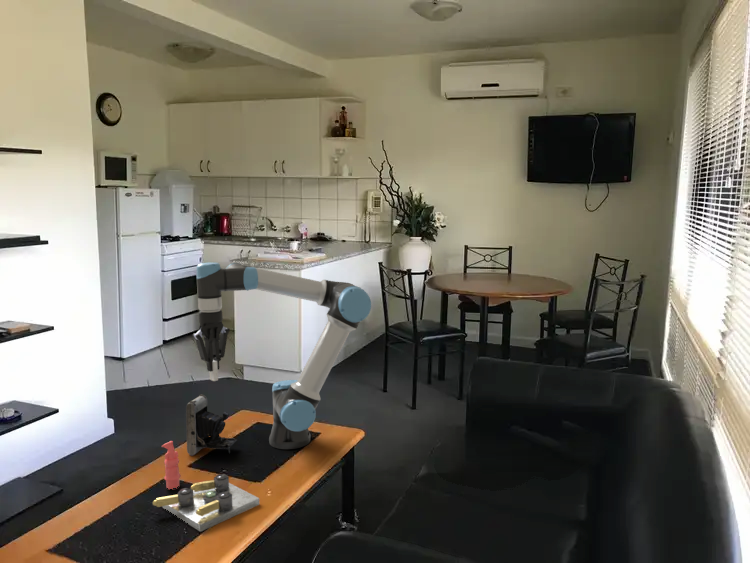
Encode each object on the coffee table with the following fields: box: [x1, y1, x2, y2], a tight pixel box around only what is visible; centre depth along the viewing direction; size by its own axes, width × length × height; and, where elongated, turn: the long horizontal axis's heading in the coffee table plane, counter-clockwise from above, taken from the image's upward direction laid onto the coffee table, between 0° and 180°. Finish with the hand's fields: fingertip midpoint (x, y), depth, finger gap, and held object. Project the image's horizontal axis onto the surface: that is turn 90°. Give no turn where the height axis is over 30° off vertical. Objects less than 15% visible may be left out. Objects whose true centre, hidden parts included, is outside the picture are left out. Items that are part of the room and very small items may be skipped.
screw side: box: [196, 492, 232, 516], centre depth 176 cm, size 11×4×4 cm, turn 138°
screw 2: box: [190, 473, 230, 492], centre depth 189 cm, size 11×4×4 cm, turn 111°
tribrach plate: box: [162, 482, 260, 532], centre depth 183 cm, size 20×20×4 cm
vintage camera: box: [185, 394, 238, 457], centre depth 222 cm, size 10×16×20 cm, turn 79°
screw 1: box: [152, 487, 194, 508], centre depth 180 cm, size 11×4×4 cm, turn 111°
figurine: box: [161, 440, 182, 490], centre depth 195 cm, size 5×5×15 cm
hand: (213, 379), depth 206 cm, fingers closed
